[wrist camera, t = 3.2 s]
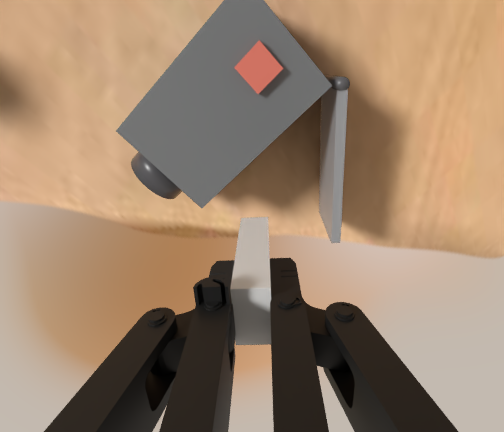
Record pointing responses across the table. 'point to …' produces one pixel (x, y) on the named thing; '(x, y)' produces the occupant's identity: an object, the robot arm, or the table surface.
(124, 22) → the table surface
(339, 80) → the side door
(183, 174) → the camera box
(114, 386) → the robot arm
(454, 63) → the table surface
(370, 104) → the table surface
